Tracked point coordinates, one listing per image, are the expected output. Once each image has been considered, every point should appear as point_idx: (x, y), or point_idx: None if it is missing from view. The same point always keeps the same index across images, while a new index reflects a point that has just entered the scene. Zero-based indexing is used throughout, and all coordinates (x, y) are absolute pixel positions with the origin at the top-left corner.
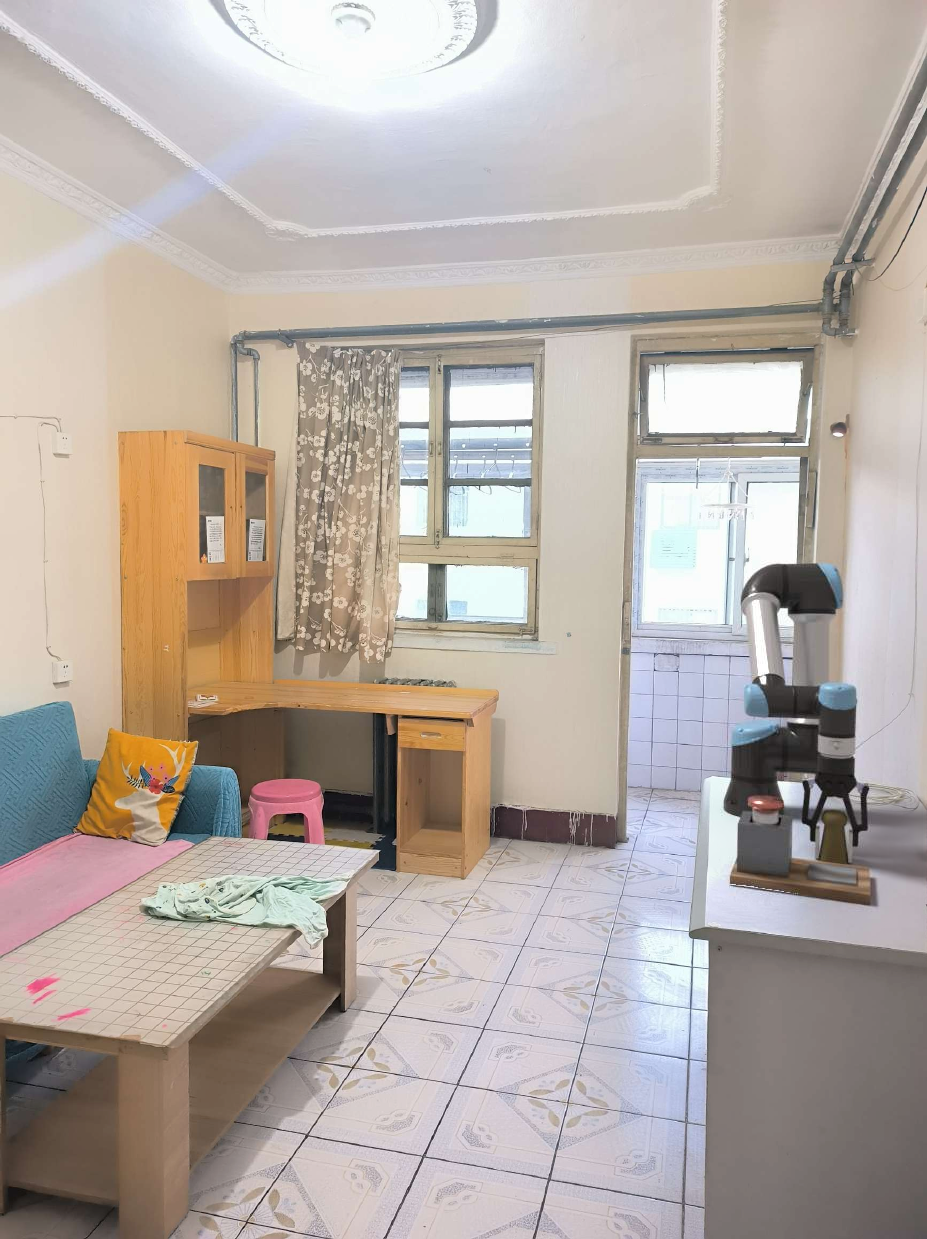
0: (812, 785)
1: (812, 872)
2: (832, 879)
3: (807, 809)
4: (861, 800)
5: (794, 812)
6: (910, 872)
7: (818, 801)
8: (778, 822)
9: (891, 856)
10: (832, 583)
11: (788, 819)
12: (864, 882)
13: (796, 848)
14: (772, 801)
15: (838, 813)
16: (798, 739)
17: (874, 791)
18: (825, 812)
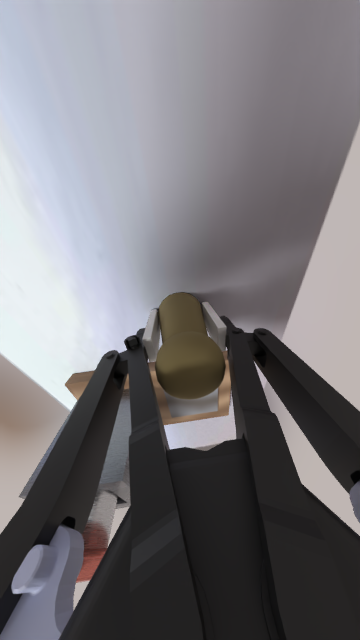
0: (71, 578)
1: (173, 408)
2: (195, 412)
3: (115, 410)
4: (317, 446)
5: None
6: (284, 309)
7: (131, 409)
8: (117, 496)
9: (275, 237)
10: None
11: (125, 490)
12: (224, 397)
13: (110, 285)
14: (86, 580)
15: (205, 393)
16: None
17: None
18: (167, 392)
